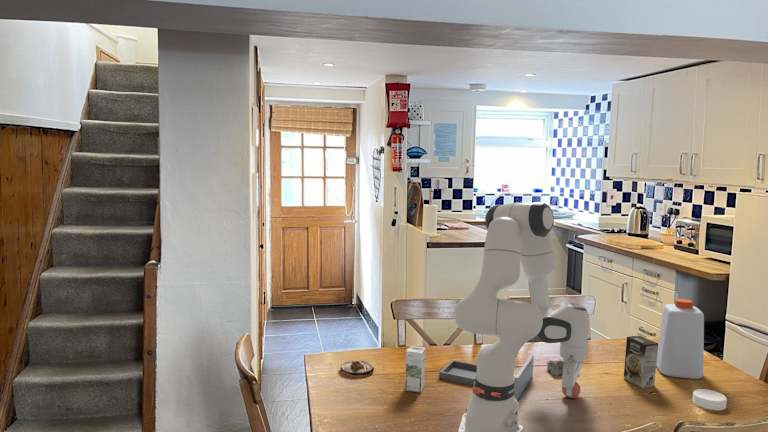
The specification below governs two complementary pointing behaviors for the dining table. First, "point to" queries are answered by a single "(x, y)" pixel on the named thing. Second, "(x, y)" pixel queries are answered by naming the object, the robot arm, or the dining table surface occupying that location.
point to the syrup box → (415, 369)
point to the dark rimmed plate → (357, 369)
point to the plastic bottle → (681, 341)
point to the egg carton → (555, 367)
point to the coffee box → (640, 361)
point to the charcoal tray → (459, 372)
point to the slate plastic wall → (523, 377)
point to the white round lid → (709, 399)
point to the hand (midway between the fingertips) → (570, 390)
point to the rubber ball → (574, 393)
